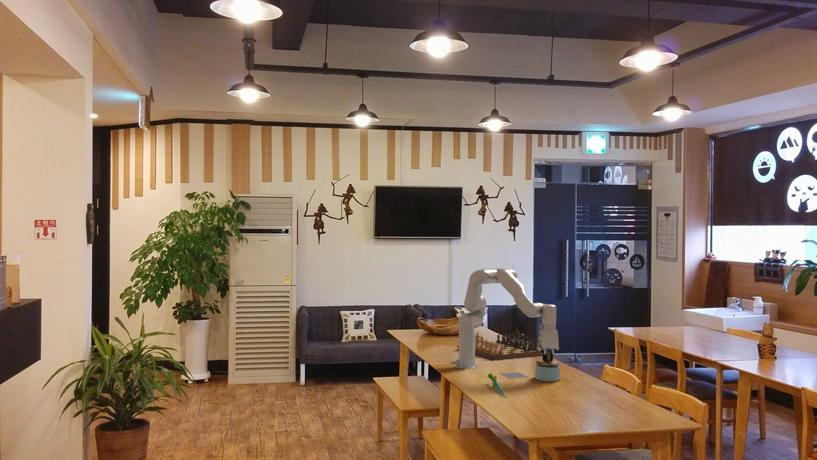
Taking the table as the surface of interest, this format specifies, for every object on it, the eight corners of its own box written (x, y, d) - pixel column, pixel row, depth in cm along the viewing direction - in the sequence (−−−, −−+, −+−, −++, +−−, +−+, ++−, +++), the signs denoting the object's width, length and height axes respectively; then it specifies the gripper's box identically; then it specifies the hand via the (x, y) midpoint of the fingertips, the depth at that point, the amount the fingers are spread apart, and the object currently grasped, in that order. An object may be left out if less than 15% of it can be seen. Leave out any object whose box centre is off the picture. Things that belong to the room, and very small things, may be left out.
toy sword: (492, 369, 356) (508, 391, 326) (491, 380, 356) (507, 403, 327) (487, 369, 355) (503, 391, 326) (486, 380, 356) (502, 403, 327)
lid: (543, 366, 359) (543, 355, 359) (531, 361, 371) (532, 350, 371) (563, 365, 363) (564, 354, 363) (552, 361, 375) (552, 350, 375)
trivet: (508, 379, 367) (508, 378, 367) (499, 374, 378) (499, 373, 378) (528, 378, 371) (528, 377, 371) (518, 373, 382) (518, 372, 382)
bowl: (542, 383, 359) (542, 368, 359) (530, 377, 372) (531, 363, 371) (564, 382, 363) (564, 367, 363) (551, 376, 375) (552, 362, 375)
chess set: (494, 361, 419) (495, 337, 419) (457, 350, 453) (457, 328, 453) (543, 356, 439) (544, 333, 439) (504, 346, 474) (505, 325, 474)
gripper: (538, 328, 361) (537, 363, 361) (565, 328, 366) (564, 362, 366) (531, 326, 368) (530, 360, 368) (558, 326, 373) (557, 359, 373)
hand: (547, 361), depth 367 cm, fingers closed on lid, 2 cm apart
